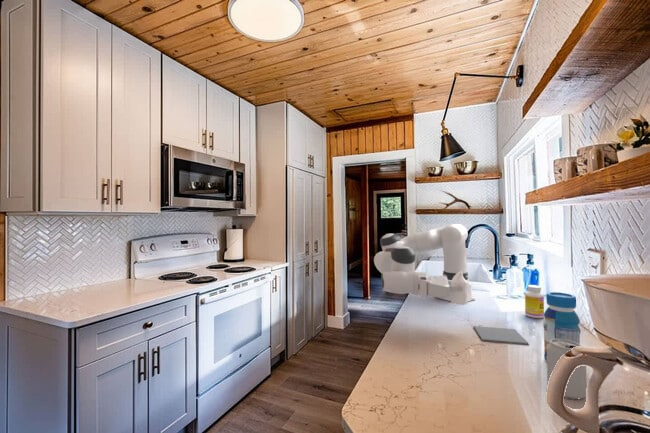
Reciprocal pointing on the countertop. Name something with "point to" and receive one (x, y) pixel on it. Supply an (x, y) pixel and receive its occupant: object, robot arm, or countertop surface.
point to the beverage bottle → (560, 319)
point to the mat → (500, 335)
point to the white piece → (459, 296)
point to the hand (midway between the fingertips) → (461, 286)
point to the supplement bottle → (534, 302)
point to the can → (578, 378)
